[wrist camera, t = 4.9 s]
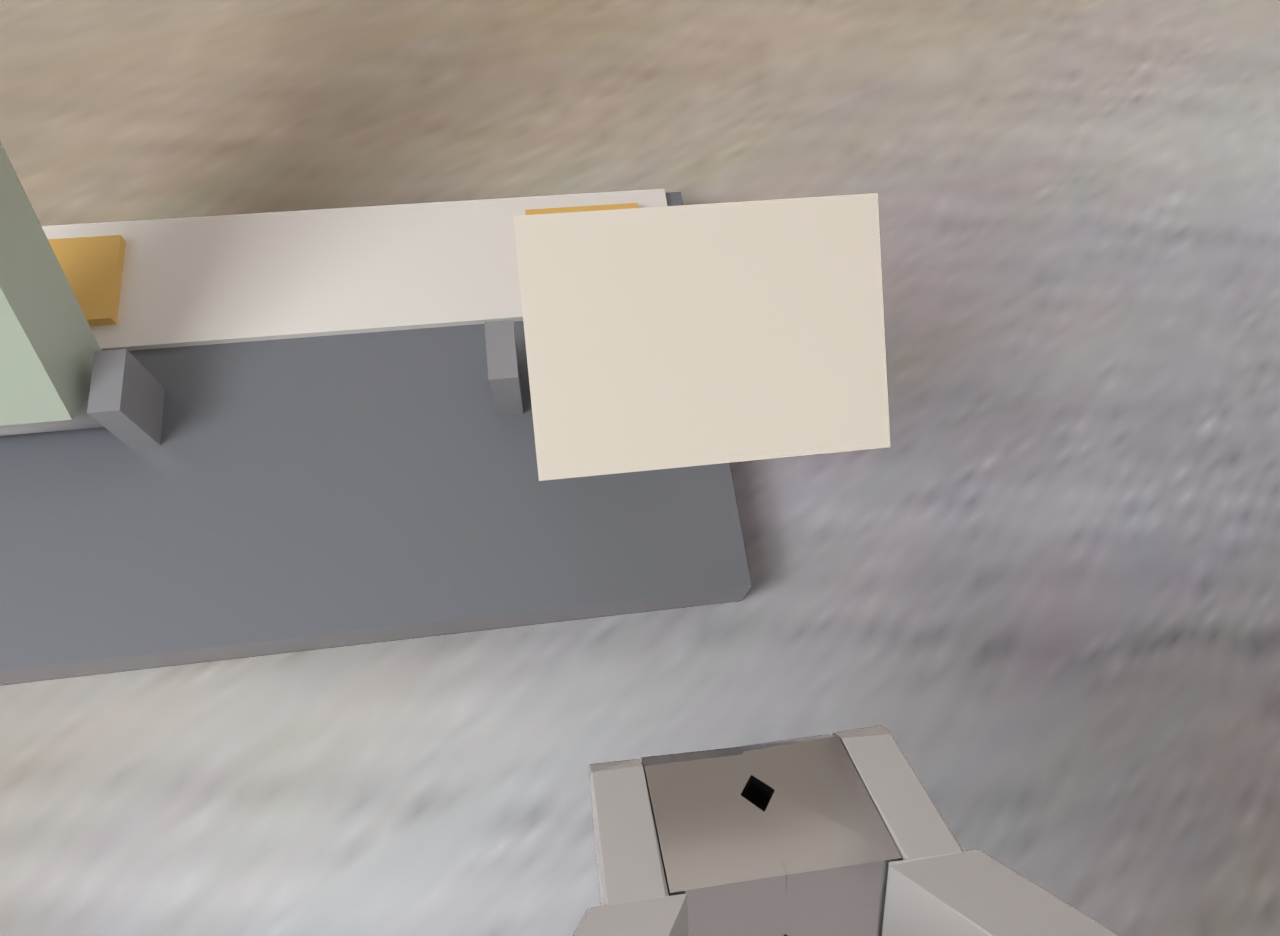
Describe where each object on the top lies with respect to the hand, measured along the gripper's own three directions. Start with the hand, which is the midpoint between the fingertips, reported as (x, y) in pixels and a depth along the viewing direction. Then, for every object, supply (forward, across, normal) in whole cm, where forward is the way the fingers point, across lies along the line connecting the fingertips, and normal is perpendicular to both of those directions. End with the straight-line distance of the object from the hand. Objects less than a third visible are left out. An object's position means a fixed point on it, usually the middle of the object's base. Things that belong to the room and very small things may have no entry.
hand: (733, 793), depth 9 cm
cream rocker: (+15, 0, 0) cm, 15 cm away
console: (+16, +7, +1) cm, 18 cm away
